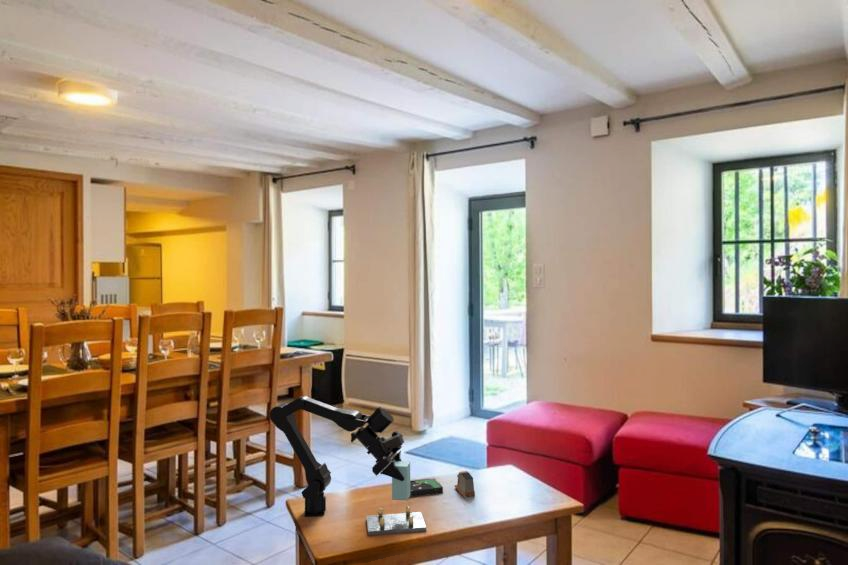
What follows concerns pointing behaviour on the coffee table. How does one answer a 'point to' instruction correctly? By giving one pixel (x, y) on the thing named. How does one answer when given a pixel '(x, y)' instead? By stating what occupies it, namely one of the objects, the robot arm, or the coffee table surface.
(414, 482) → the disk drive
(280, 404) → the robot arm
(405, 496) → the teal block
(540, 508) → the coffee table surface
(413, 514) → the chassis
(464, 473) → the electronic device
